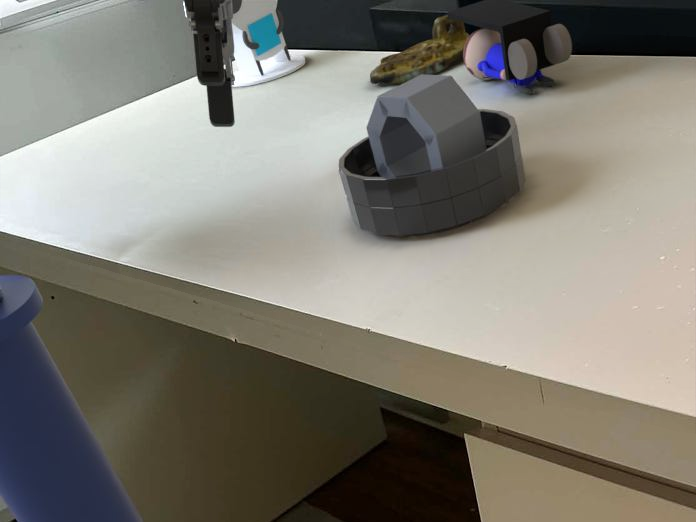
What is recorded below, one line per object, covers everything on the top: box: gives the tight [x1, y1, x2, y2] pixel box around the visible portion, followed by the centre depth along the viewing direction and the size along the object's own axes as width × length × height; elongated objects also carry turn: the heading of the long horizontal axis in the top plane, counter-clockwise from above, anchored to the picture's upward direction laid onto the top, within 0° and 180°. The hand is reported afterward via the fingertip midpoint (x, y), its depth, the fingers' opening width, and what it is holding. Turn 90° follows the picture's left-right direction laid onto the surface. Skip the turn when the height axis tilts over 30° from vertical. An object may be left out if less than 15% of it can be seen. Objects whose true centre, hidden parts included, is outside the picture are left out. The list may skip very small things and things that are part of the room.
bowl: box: [337, 108, 526, 238], centre depth 79 cm, size 15×15×5 cm
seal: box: [369, 14, 470, 85], centre depth 114 cm, size 9×5×15 cm
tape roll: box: [366, 74, 486, 177], centre depth 78 cm, size 9×5×9 cm, turn 46°
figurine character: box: [446, 0, 573, 96], centre depth 100 cm, size 7×8×15 cm
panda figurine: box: [231, 0, 306, 88], centre depth 125 cm, size 12×11×15 cm
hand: (217, 105), depth 83 cm, fingers open, 8 cm apart
